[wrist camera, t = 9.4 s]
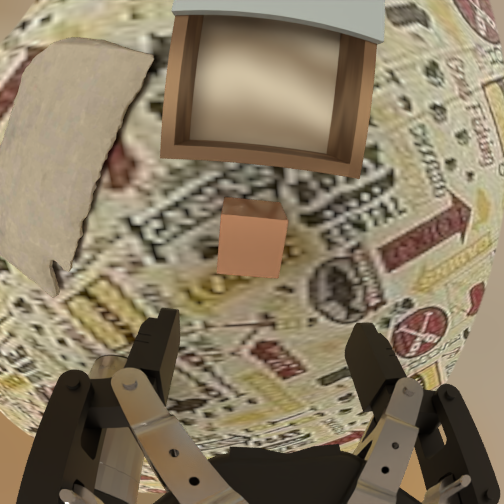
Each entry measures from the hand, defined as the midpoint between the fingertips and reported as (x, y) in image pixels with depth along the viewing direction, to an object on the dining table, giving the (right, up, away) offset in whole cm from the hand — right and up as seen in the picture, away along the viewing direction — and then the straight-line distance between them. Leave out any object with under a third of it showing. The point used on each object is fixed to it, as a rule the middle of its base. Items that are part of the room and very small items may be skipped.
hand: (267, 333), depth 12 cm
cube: (-1, +6, +12) cm, 13 cm away
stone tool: (-19, +12, +9) cm, 24 cm away
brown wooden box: (+1, +18, +6) cm, 19 cm away
